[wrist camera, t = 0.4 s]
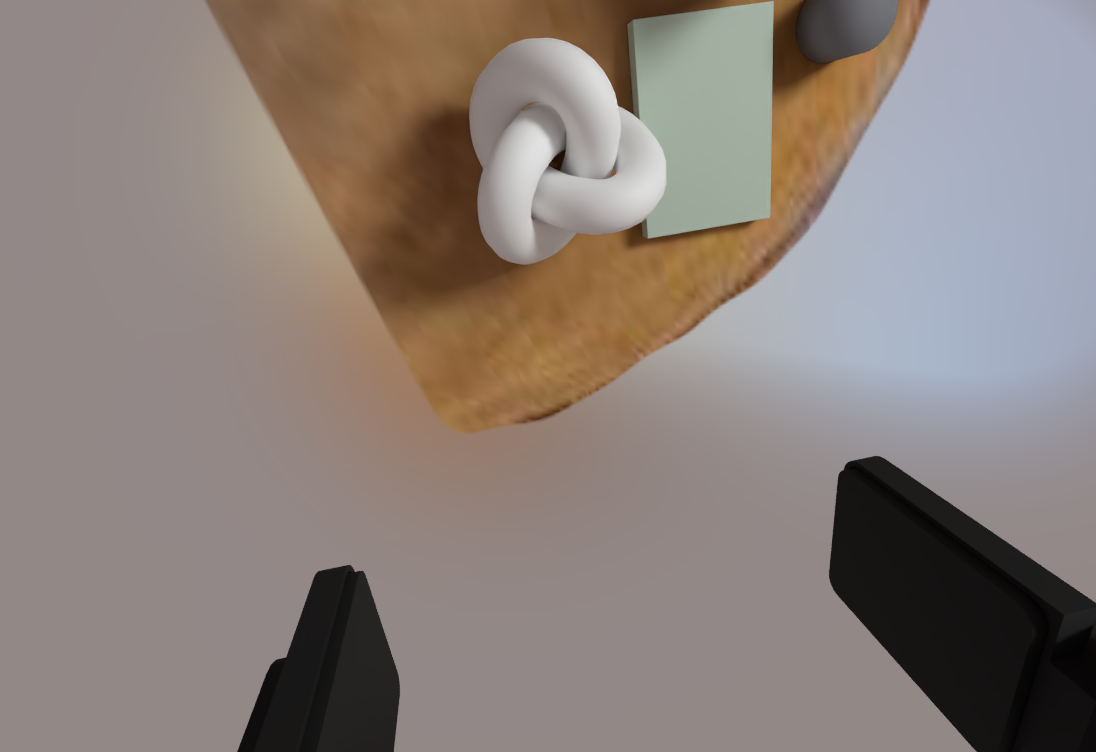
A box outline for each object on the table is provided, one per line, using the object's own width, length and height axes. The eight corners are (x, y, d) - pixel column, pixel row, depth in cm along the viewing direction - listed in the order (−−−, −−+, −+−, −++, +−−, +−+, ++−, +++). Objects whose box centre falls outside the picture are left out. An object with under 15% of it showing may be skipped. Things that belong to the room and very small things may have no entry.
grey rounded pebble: (796, -11, 34) (831, -29, 31) (860, -19, 35) (901, -38, 31) (794, 67, 36) (827, 58, 33) (855, 58, 36) (893, 48, 33)
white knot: (411, 121, 33) (397, 107, 25) (575, 11, 33) (614, -41, 24) (509, 274, 38) (524, 304, 30) (655, 180, 37) (712, 184, 29)
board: (627, 24, 33) (632, 19, 32) (763, 6, 34) (773, 0, 33) (642, 236, 38) (648, 238, 37) (761, 216, 39) (770, 217, 38)
